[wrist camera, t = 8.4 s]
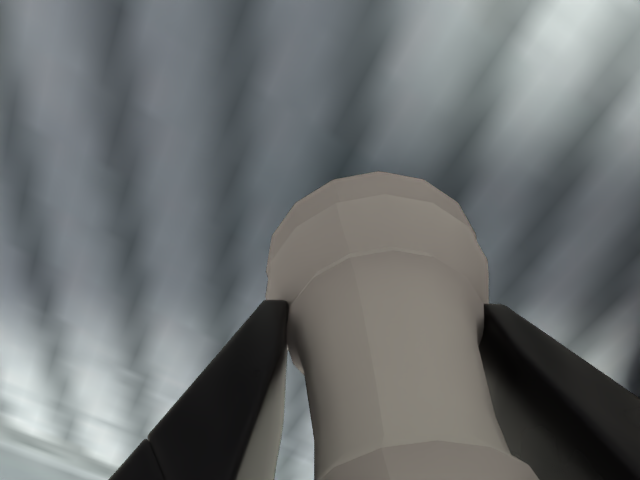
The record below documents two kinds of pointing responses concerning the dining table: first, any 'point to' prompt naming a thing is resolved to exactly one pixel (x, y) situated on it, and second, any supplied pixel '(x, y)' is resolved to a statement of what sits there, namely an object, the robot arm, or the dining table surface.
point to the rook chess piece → (390, 332)
